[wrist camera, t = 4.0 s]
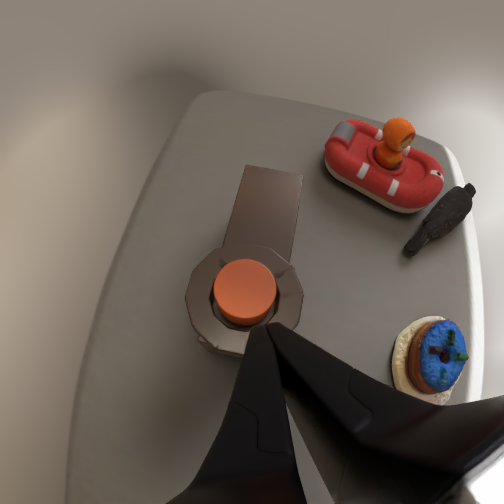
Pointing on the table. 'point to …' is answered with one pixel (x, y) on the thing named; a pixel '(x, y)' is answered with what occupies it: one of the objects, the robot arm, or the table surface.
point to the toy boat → (384, 164)
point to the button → (244, 291)
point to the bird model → (443, 217)
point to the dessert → (429, 359)
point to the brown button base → (251, 258)
